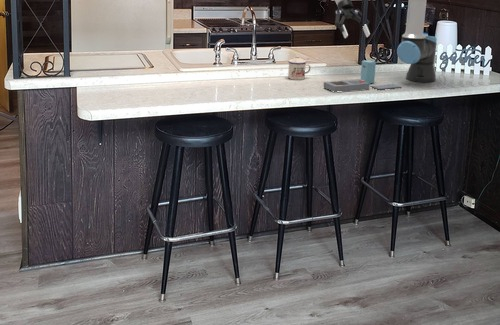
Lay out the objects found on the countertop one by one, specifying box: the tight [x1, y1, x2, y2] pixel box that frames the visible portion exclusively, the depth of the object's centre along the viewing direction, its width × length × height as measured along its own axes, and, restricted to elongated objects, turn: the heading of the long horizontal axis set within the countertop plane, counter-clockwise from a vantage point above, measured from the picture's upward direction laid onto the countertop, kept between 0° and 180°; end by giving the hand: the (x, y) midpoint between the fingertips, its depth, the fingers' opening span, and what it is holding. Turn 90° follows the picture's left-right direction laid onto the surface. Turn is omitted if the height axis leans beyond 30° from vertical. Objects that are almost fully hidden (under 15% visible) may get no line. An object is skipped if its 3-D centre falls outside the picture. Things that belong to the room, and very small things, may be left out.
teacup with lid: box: [287, 55, 312, 81], centre depth 335 cm, size 12×9×12 cm
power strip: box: [322, 78, 371, 93], centre depth 316 cm, size 20×10×4 cm, turn 116°
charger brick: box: [359, 59, 377, 84], centre depth 329 cm, size 5×5×11 cm
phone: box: [369, 83, 402, 91], centre depth 321 cm, size 14×7×1 cm, turn 116°
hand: (357, 36), depth 333 cm, fingers open, 13 cm apart
